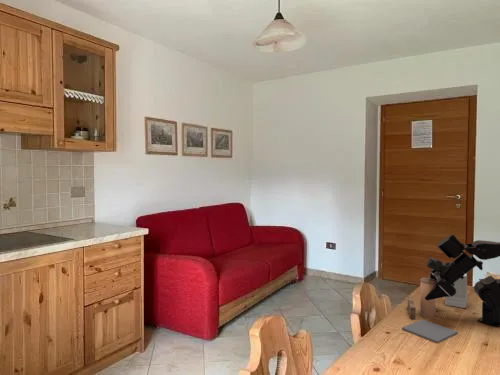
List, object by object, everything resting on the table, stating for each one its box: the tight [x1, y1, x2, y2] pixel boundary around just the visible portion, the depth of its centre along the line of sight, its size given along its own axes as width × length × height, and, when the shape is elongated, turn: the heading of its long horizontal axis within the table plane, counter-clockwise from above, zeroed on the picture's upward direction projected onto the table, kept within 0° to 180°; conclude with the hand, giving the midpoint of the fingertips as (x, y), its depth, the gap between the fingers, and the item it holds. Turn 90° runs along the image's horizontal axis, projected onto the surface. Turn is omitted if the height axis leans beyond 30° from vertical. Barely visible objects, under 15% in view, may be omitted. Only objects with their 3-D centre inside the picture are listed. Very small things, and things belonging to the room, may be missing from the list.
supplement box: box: [444, 273, 468, 309], centre depth 144 cm, size 7×7×13 cm
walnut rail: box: [407, 296, 416, 320], centre depth 135 cm, size 12×2×4 cm, turn 161°
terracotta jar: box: [419, 277, 437, 319], centre depth 133 cm, size 5×5×13 cm
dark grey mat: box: [401, 319, 458, 344], centre depth 119 cm, size 12×12×1 cm
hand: (423, 295), depth 133 cm, fingers open, 9 cm apart
